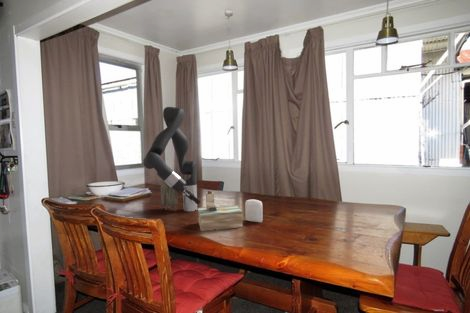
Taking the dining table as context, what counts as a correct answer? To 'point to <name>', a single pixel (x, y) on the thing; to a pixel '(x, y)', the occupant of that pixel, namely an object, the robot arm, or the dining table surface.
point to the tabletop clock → (168, 196)
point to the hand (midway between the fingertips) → (199, 203)
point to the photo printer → (253, 210)
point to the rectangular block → (220, 217)
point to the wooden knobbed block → (209, 200)
